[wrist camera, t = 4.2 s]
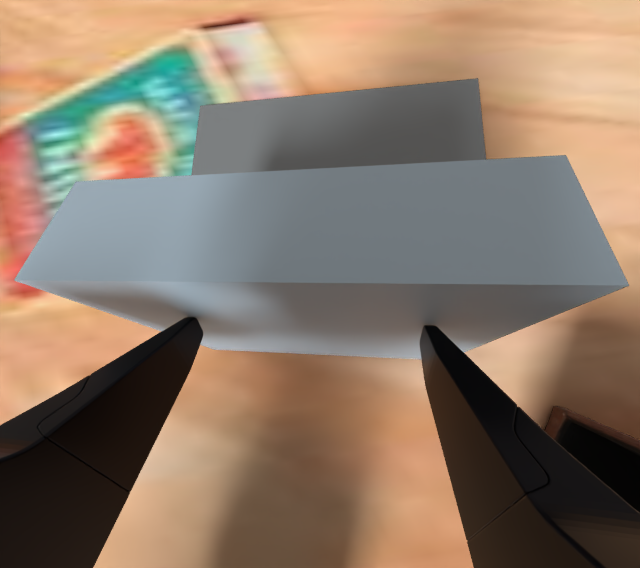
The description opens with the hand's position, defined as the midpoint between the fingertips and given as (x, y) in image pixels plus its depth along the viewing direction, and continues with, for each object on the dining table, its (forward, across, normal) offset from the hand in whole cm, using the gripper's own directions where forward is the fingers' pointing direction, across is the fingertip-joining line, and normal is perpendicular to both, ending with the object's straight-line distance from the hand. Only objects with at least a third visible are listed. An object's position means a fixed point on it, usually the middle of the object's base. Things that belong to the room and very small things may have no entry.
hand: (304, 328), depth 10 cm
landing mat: (+15, 0, -2) cm, 15 cm away
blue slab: (+6, 0, +6) cm, 8 cm away
